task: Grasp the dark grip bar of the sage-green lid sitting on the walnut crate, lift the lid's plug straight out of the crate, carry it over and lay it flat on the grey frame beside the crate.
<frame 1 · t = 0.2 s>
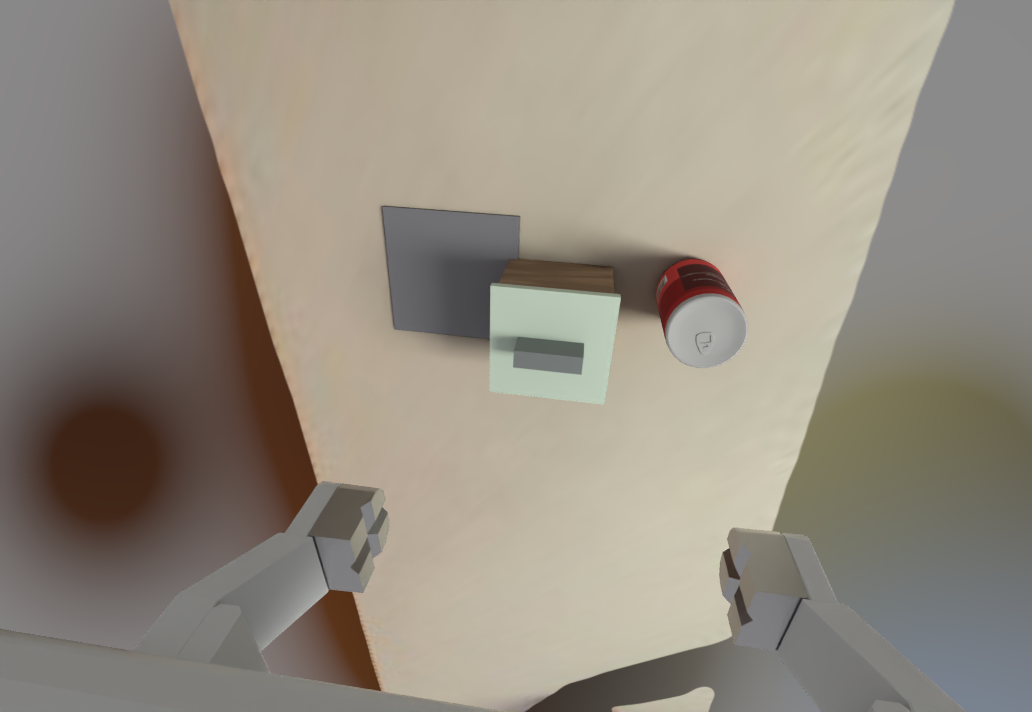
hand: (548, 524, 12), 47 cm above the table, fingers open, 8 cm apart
lid: (550, 344, 53), point 9 cm above the table, touching crate
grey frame: (452, 276, 61), on the table
crate: (556, 308, 61), on the table
canned food: (688, 288, 58), on the table
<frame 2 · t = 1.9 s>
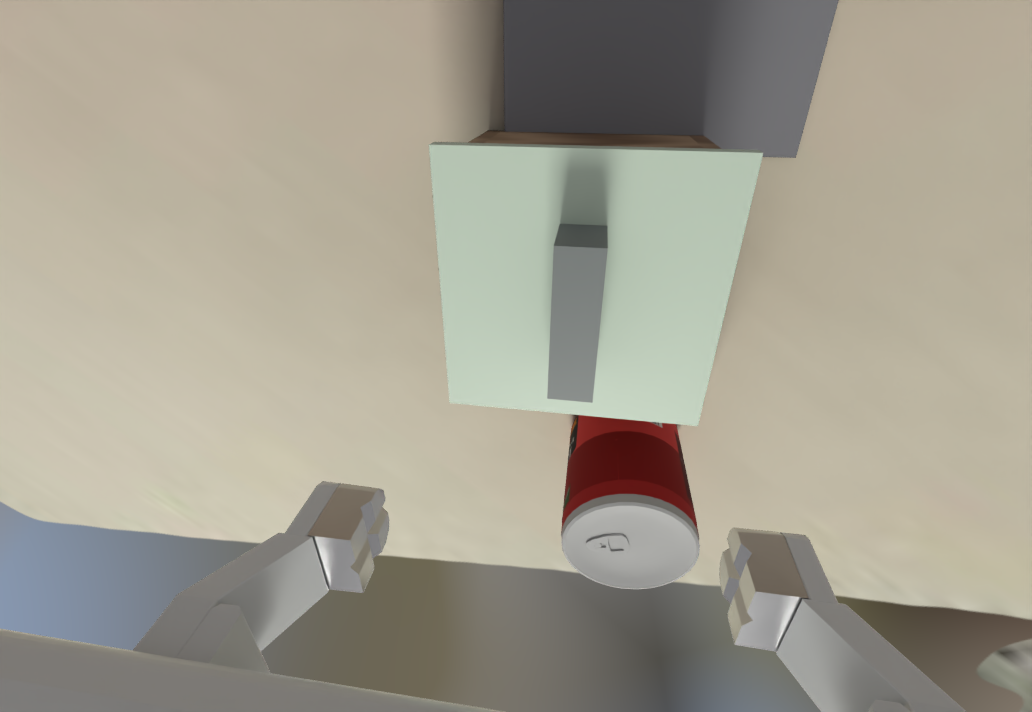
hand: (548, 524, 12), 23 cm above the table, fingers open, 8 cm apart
lid: (578, 293, 23), point 9 cm above the table, touching crate
crate: (584, 236, 31), on the table
canned food: (622, 428, 38), on the table
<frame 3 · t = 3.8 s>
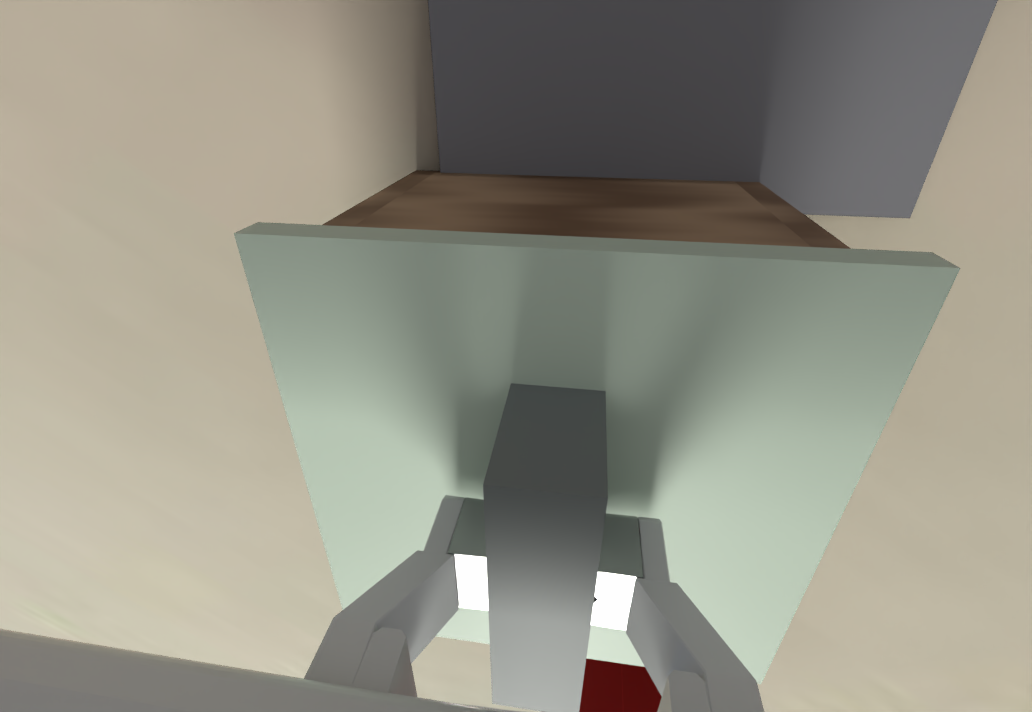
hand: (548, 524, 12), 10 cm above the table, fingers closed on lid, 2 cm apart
lid: (553, 481, 13), point 9 cm above the table, touching crate, gripper
crate: (569, 326, 21), on the table
canned food: (626, 566, 28), on the table
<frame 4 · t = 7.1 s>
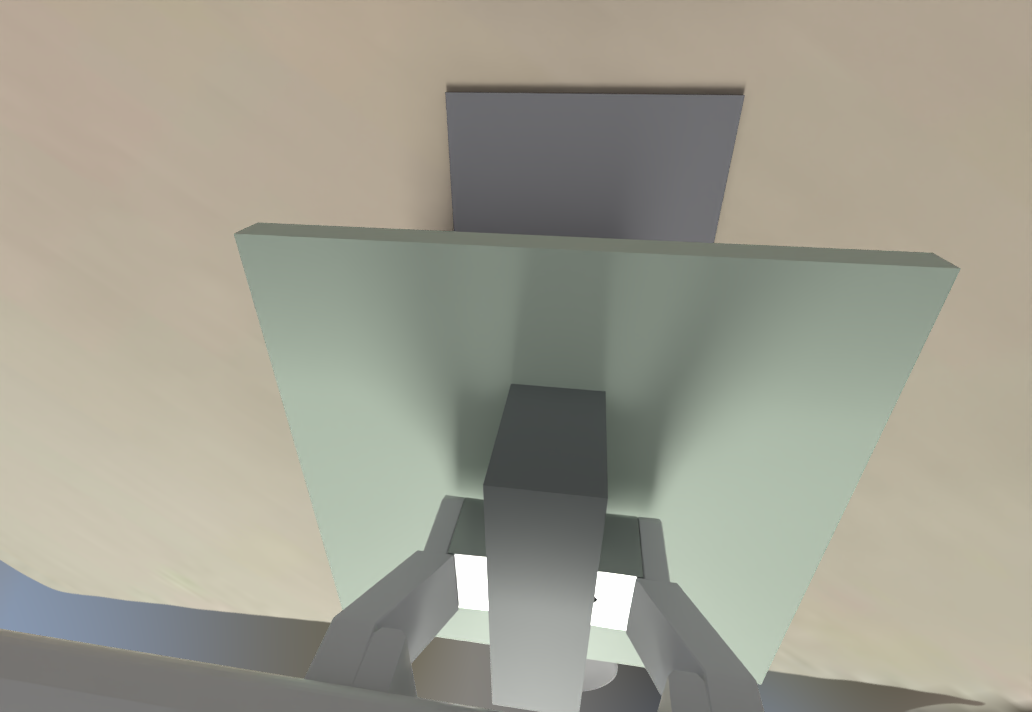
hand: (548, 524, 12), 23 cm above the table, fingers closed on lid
lid: (553, 481, 13), point 21 cm above the table, touching gripper
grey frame: (579, 237, 31), on the table
canned food: (570, 538, 45), on the table
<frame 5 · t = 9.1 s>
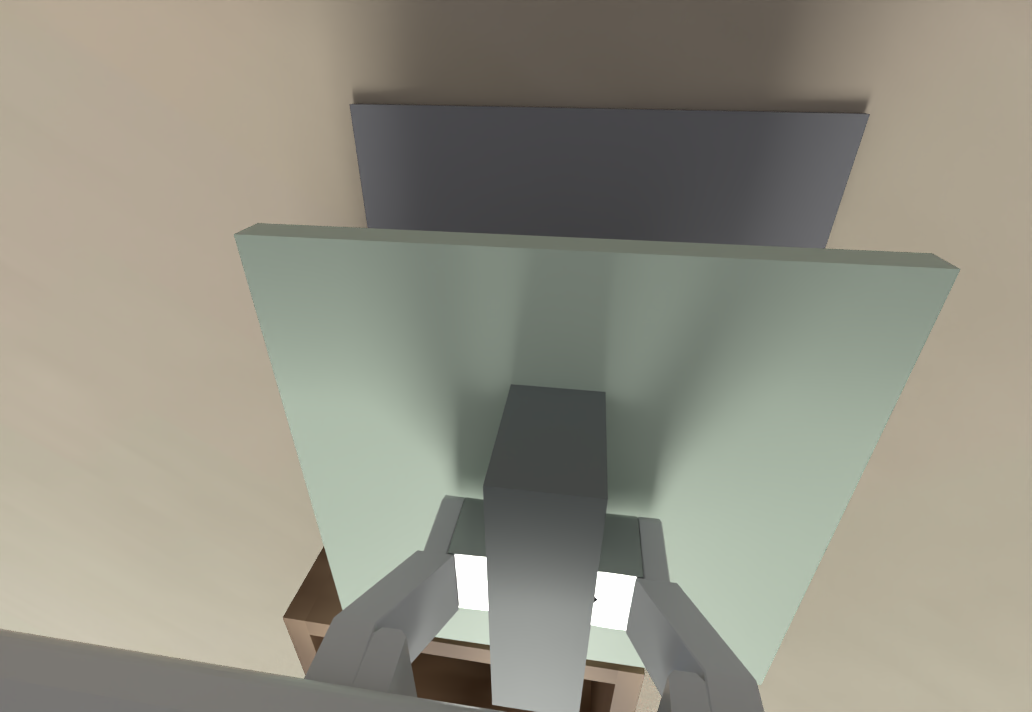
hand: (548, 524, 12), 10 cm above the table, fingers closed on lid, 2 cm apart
lid: (553, 482, 13), point 8 cm above the table, touching gripper
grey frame: (575, 331, 20), on the table
crate: (503, 541, 27), on the table
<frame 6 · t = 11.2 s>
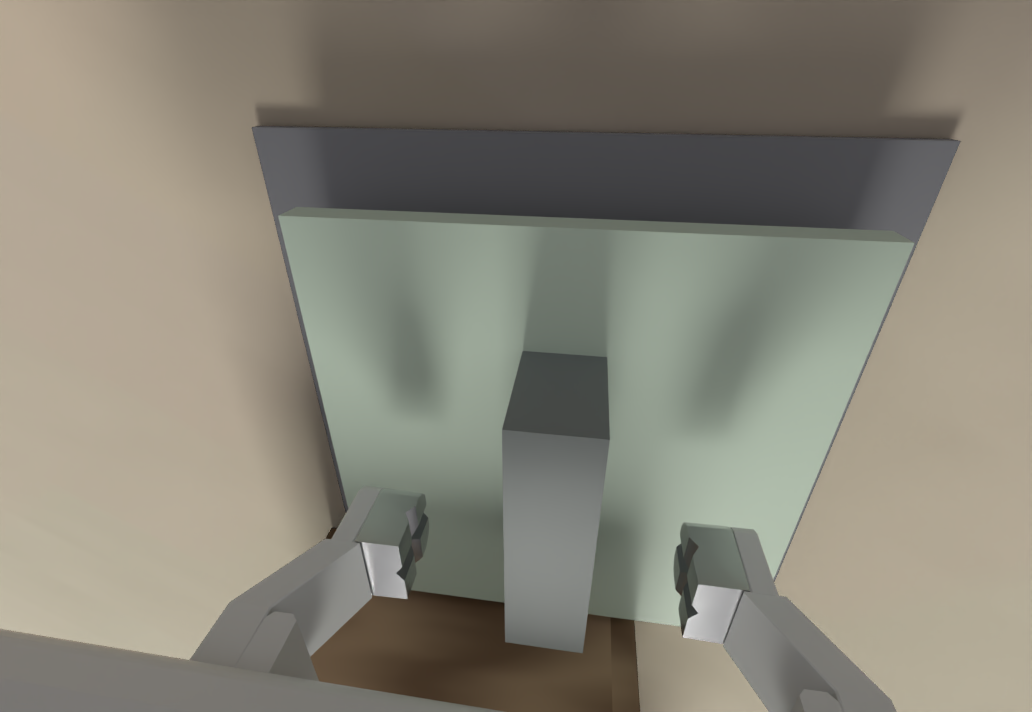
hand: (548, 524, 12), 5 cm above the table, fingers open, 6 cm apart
lid: (559, 445, 14), point 2 cm above the table, touching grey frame
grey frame: (560, 408, 16), on the table
crate: (480, 633, 23), on the table
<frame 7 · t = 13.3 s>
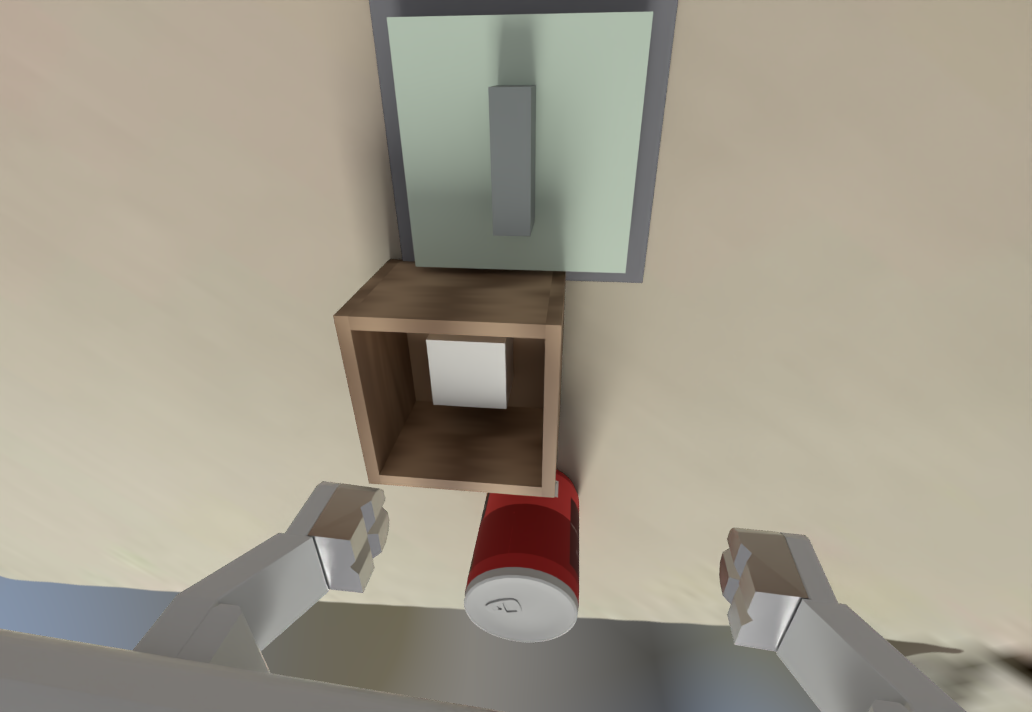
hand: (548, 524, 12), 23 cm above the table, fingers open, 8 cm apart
lid: (518, 155, 28), point 2 cm above the table, touching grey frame
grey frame: (520, 149, 29), on the table
crate: (480, 340, 36), on the table
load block: (478, 345, 36), point 1 cm above the table, touching crate
canned food: (533, 491, 44), on the table
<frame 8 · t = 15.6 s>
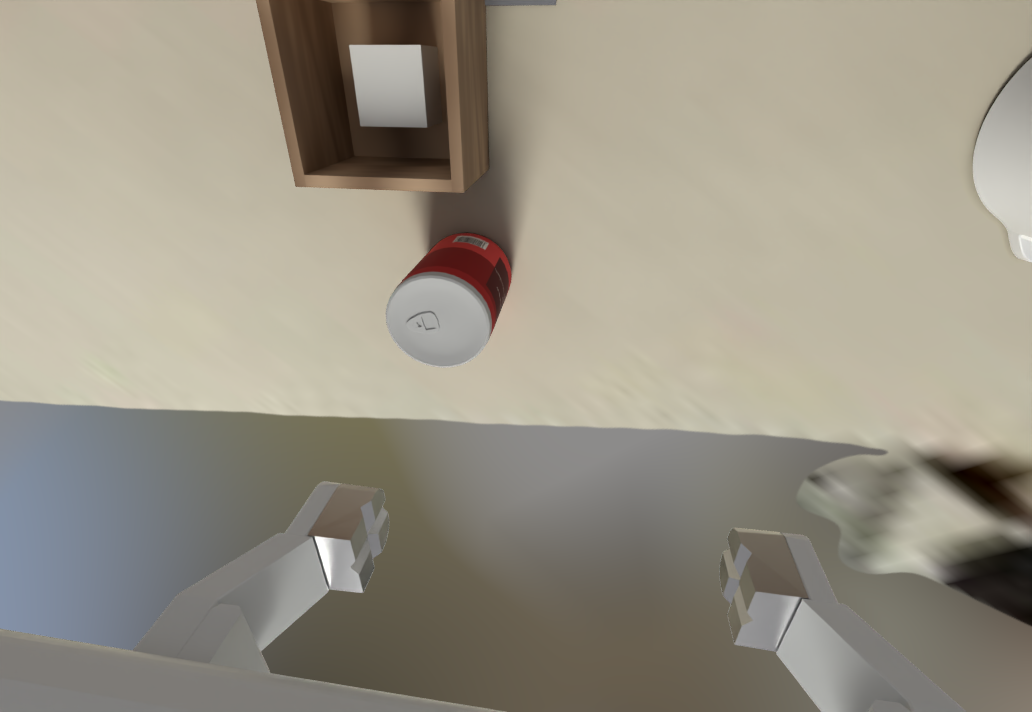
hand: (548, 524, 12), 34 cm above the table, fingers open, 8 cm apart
crate: (411, 85, 39), on the table
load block: (408, 85, 38), point 1 cm above the table, touching crate
canned food: (470, 270, 46), on the table
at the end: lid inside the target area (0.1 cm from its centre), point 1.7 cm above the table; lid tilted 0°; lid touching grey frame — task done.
